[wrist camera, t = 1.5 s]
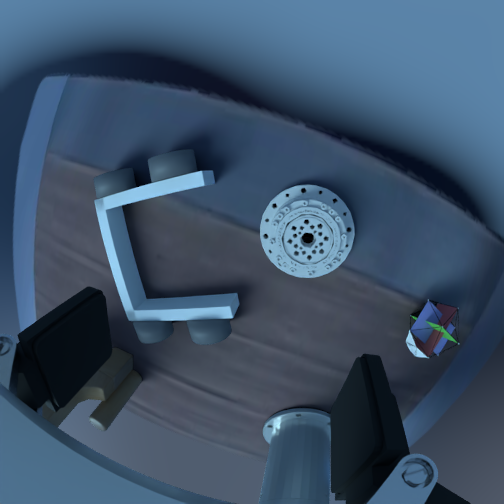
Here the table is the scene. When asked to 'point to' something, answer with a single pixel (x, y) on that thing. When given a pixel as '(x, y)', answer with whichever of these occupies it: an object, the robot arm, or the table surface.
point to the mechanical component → (307, 231)
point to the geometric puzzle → (431, 329)
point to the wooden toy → (103, 391)
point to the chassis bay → (123, 262)
